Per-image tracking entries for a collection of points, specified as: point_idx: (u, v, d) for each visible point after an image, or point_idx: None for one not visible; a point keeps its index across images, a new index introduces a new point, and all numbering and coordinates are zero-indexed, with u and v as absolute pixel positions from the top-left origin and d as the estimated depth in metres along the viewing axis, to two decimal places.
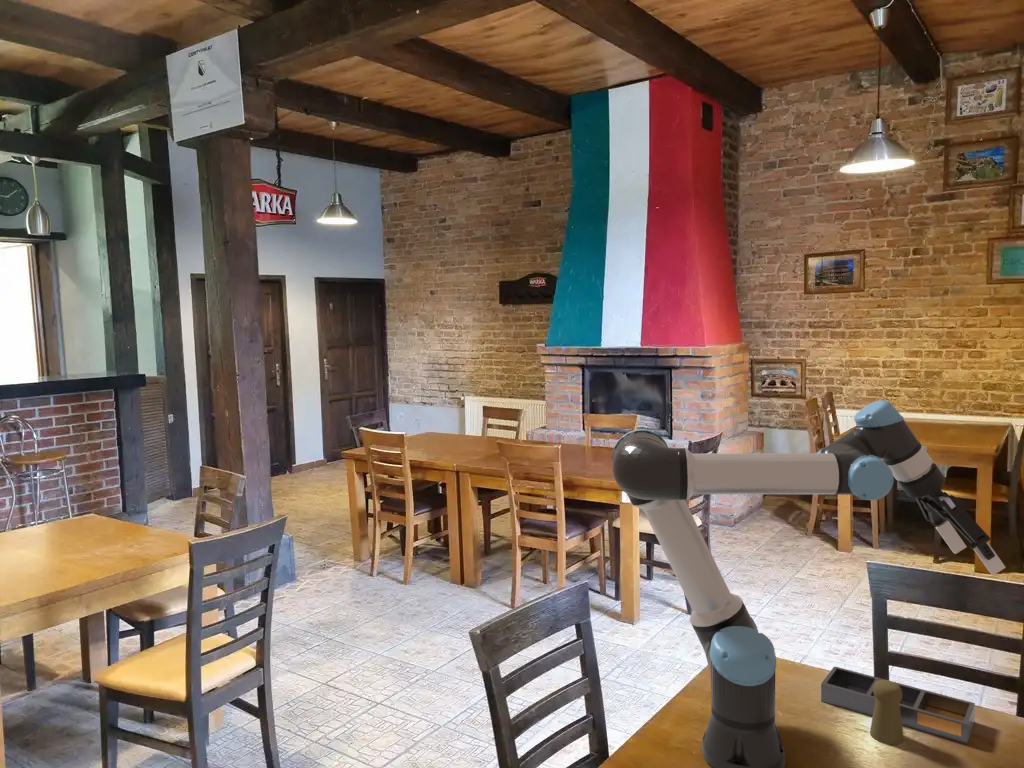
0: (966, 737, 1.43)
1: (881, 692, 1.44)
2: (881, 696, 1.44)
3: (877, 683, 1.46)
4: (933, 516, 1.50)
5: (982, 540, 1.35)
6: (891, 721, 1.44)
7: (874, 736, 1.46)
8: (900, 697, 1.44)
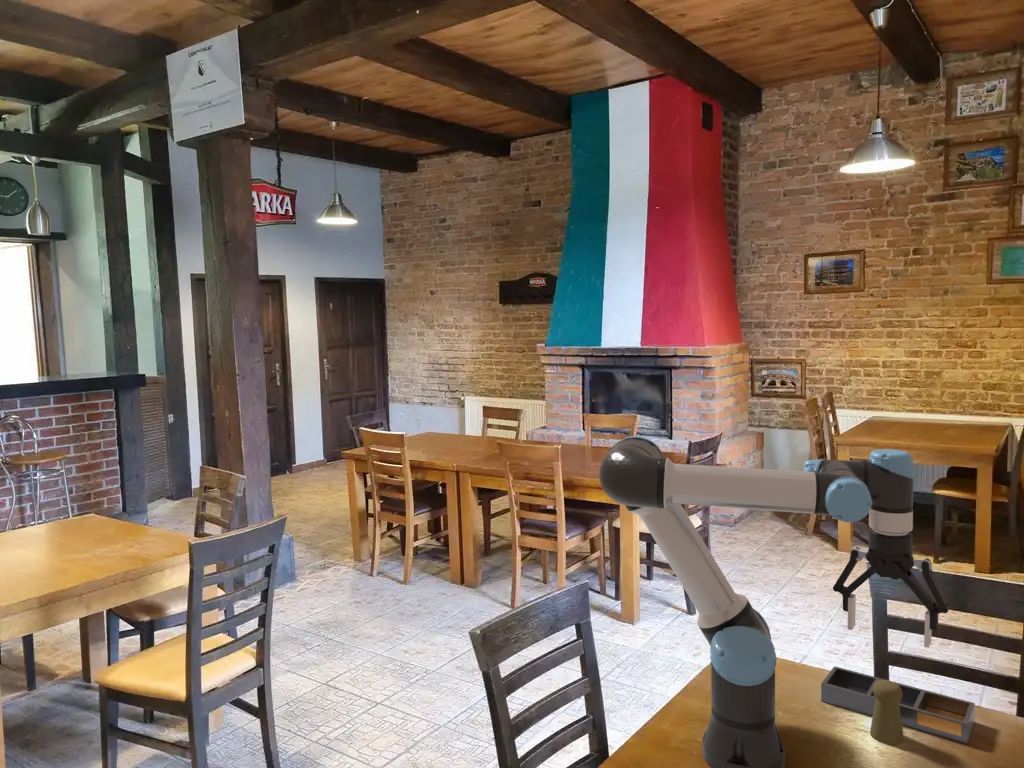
0: (966, 737, 1.43)
1: (881, 692, 1.44)
2: (881, 696, 1.44)
3: (877, 683, 1.46)
4: None
5: (948, 607, 1.38)
6: (891, 721, 1.44)
7: (874, 736, 1.46)
8: (900, 697, 1.44)
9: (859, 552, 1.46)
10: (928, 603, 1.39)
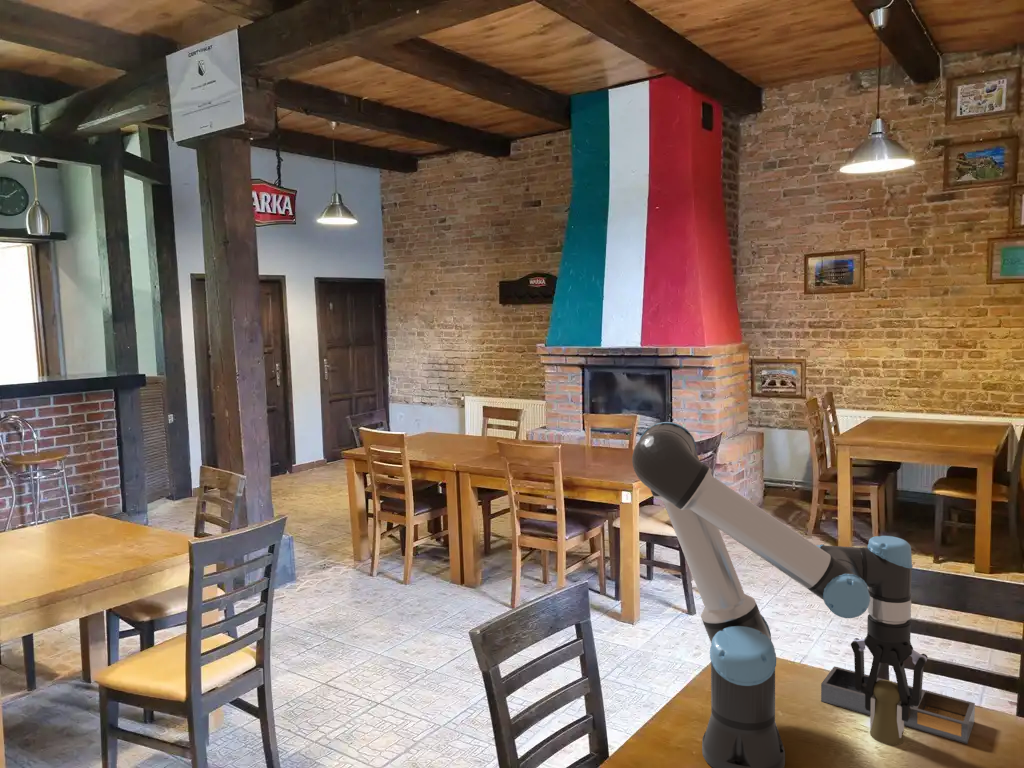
0: (966, 737, 1.43)
1: (881, 692, 1.44)
2: (881, 696, 1.44)
3: (877, 683, 1.46)
4: (875, 677, 1.46)
5: (919, 701, 1.42)
6: (891, 721, 1.44)
7: (874, 736, 1.46)
8: None
9: (858, 642, 1.48)
10: (904, 695, 1.43)
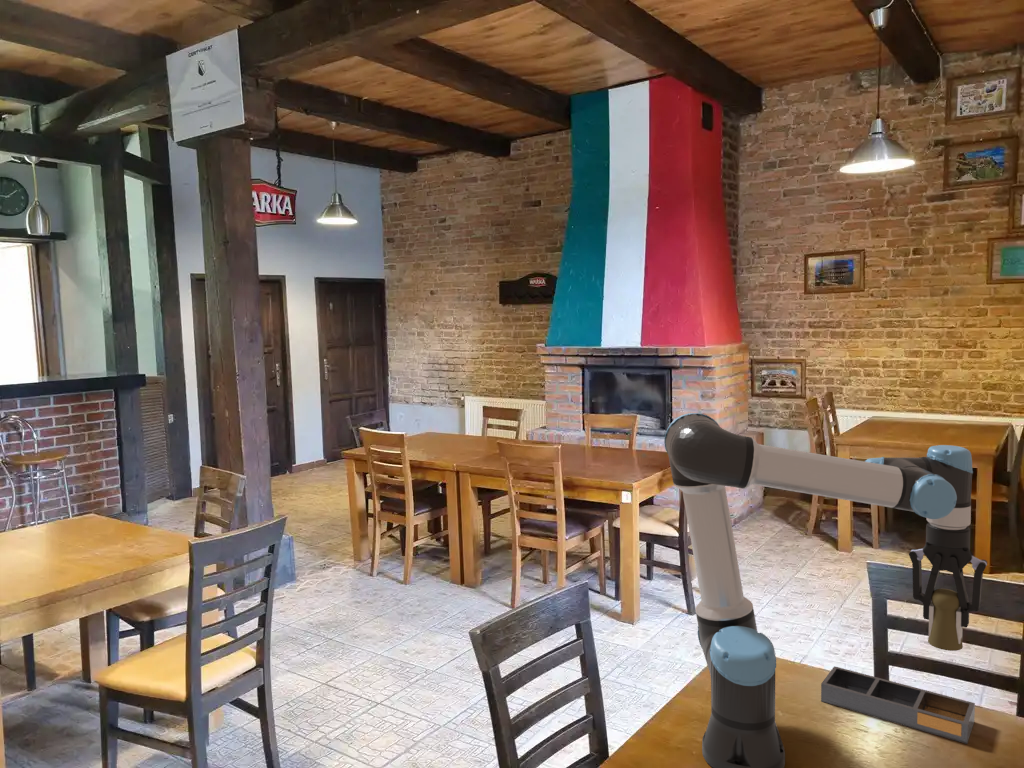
0: (966, 737, 1.43)
1: (941, 599, 1.46)
2: (940, 603, 1.46)
3: (936, 591, 1.48)
4: (934, 585, 1.47)
5: (979, 606, 1.44)
6: (950, 627, 1.45)
7: (933, 643, 1.47)
8: (959, 603, 1.45)
9: (916, 551, 1.49)
10: (964, 601, 1.44)
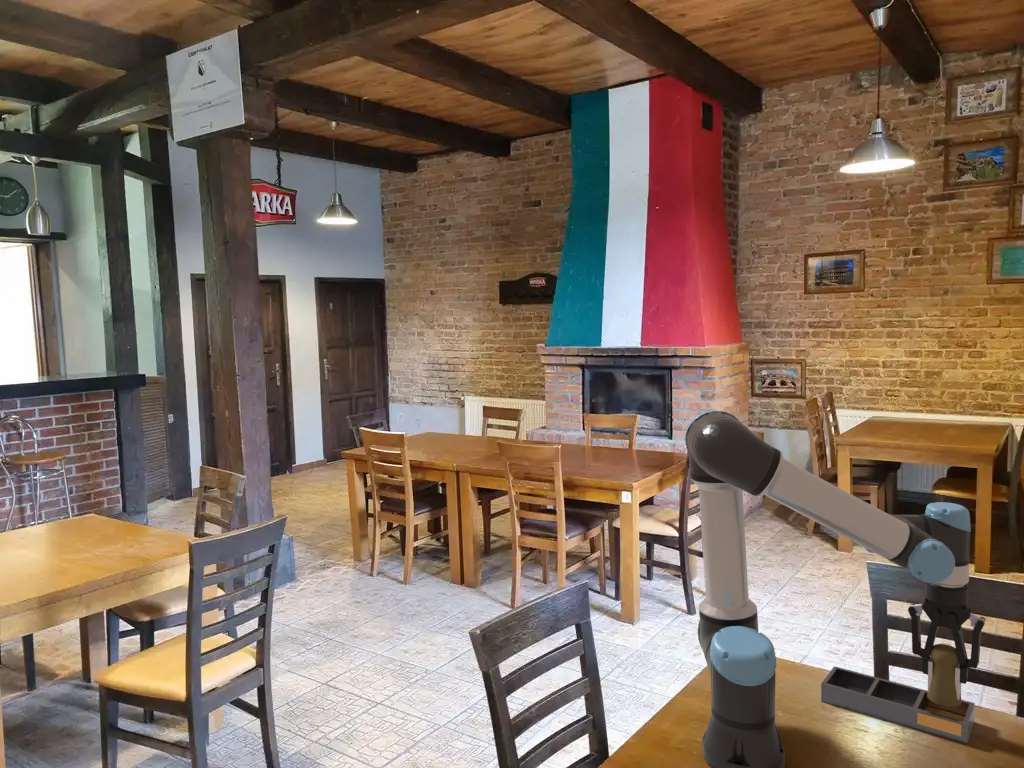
0: (966, 737, 1.43)
1: (940, 655, 1.47)
2: (939, 659, 1.47)
3: (934, 647, 1.49)
4: (933, 641, 1.49)
5: (977, 663, 1.45)
6: (949, 683, 1.46)
7: (932, 699, 1.48)
8: None
9: (915, 607, 1.51)
10: (963, 658, 1.45)
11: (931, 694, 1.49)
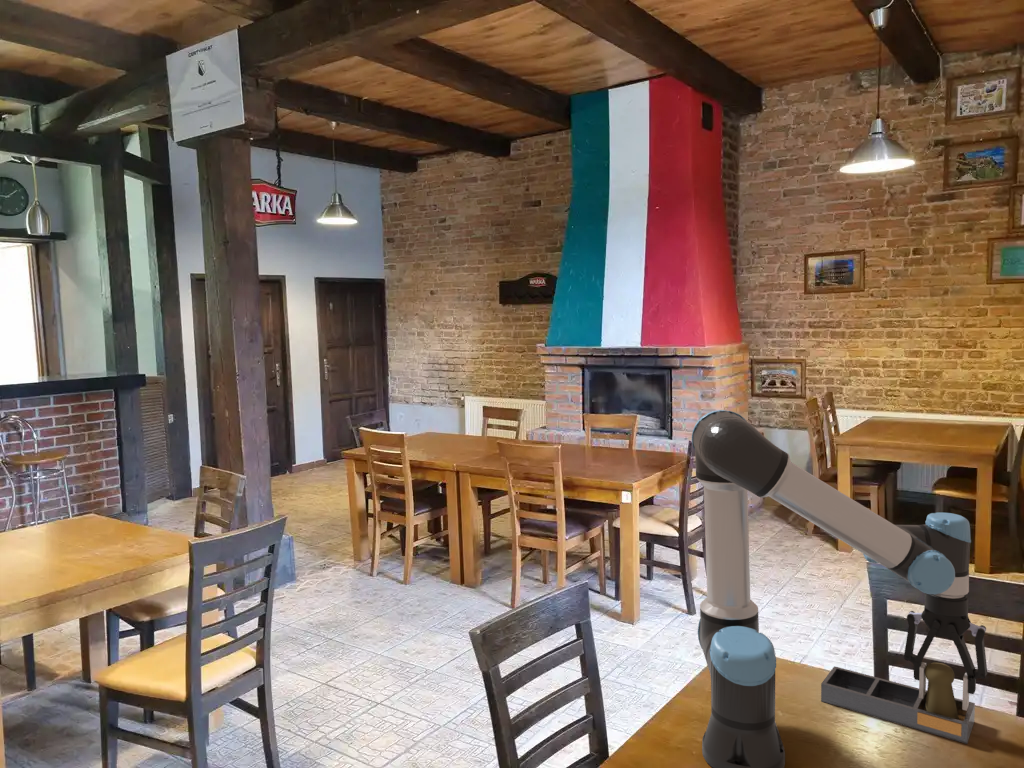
0: (966, 737, 1.43)
1: (934, 674, 1.48)
2: (933, 678, 1.48)
3: (928, 666, 1.50)
4: (927, 649, 1.49)
5: (985, 673, 1.44)
6: (945, 702, 1.47)
7: None
8: (952, 678, 1.47)
9: (914, 615, 1.51)
10: (969, 668, 1.45)
11: None
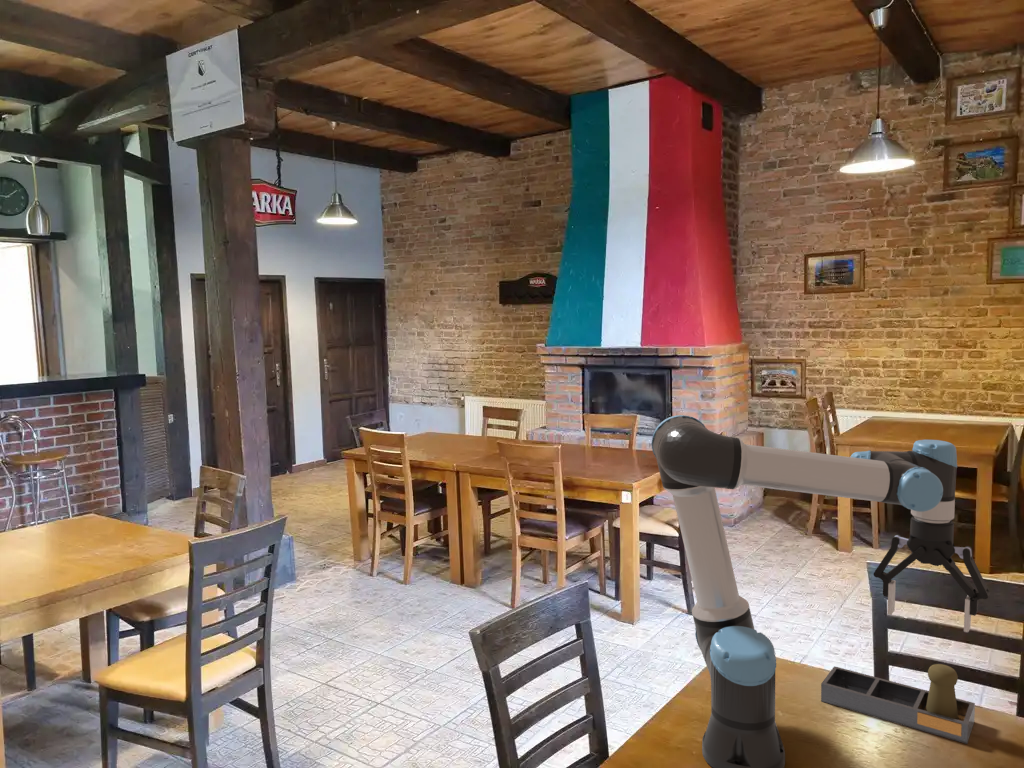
0: (966, 737, 1.43)
1: (937, 676, 1.47)
2: (936, 679, 1.47)
3: (932, 667, 1.49)
4: None
5: (988, 593, 1.42)
6: (946, 704, 1.47)
7: None
8: (956, 680, 1.47)
9: (900, 539, 1.51)
10: (968, 589, 1.43)
11: None
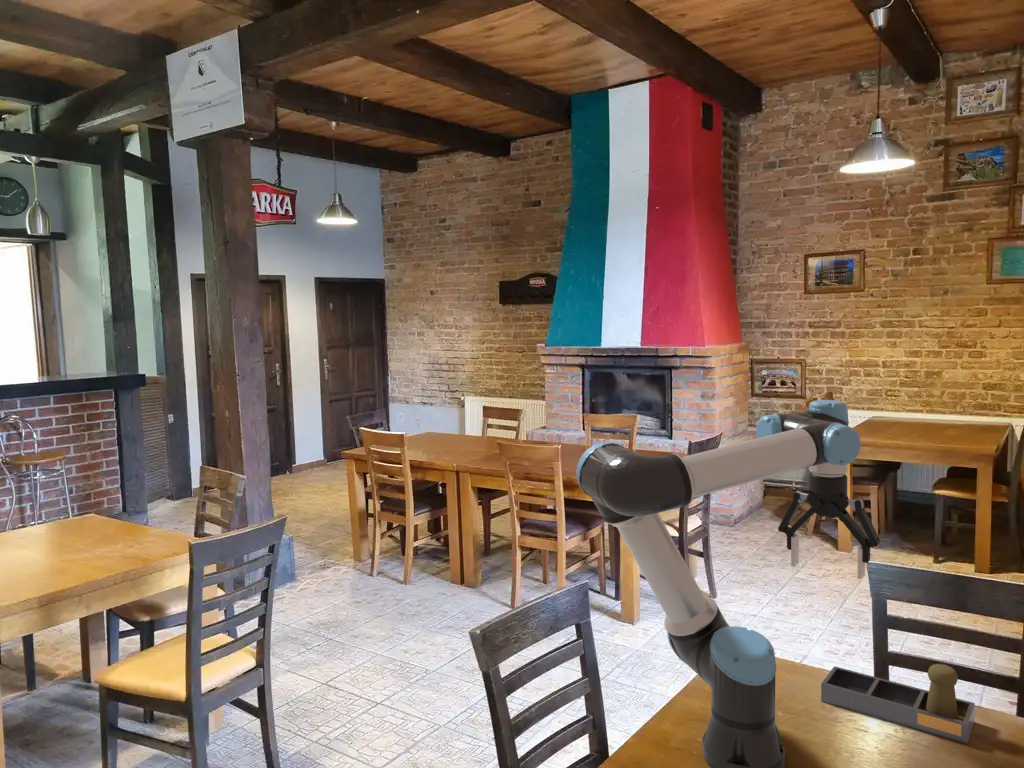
0: (966, 737, 1.43)
1: (937, 676, 1.47)
2: (936, 680, 1.47)
3: (932, 667, 1.49)
4: (803, 523, 1.60)
5: (878, 541, 1.52)
6: (946, 704, 1.47)
7: None
8: (956, 680, 1.47)
9: (800, 494, 1.60)
10: (860, 538, 1.52)
11: None
